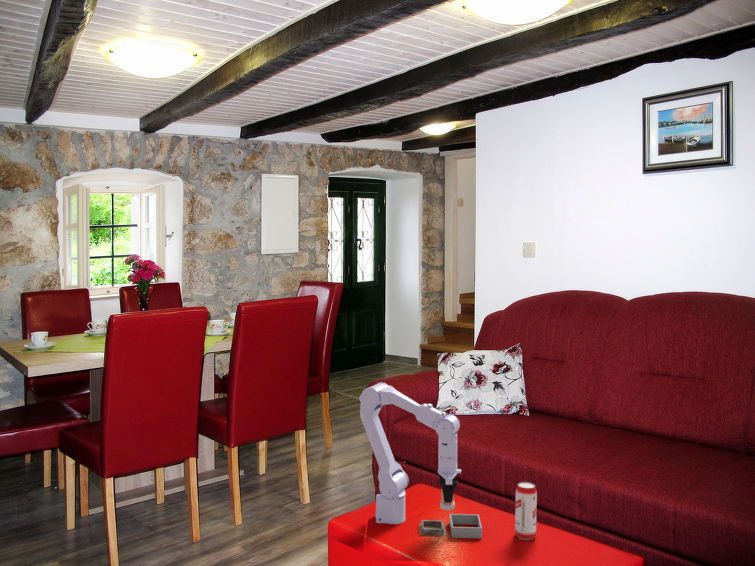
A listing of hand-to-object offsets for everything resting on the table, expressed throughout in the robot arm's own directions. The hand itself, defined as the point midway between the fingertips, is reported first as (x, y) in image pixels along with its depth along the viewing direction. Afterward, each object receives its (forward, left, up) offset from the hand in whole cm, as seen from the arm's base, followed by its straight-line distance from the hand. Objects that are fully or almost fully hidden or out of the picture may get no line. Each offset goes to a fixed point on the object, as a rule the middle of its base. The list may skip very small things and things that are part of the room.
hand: (447, 499), depth 203 cm
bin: (+5, 0, -11) cm, 12 cm away
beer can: (+23, -1, -11) cm, 26 cm away
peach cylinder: (0, 0, -2) cm, 2 cm away
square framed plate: (-5, 0, -11) cm, 11 cm away
